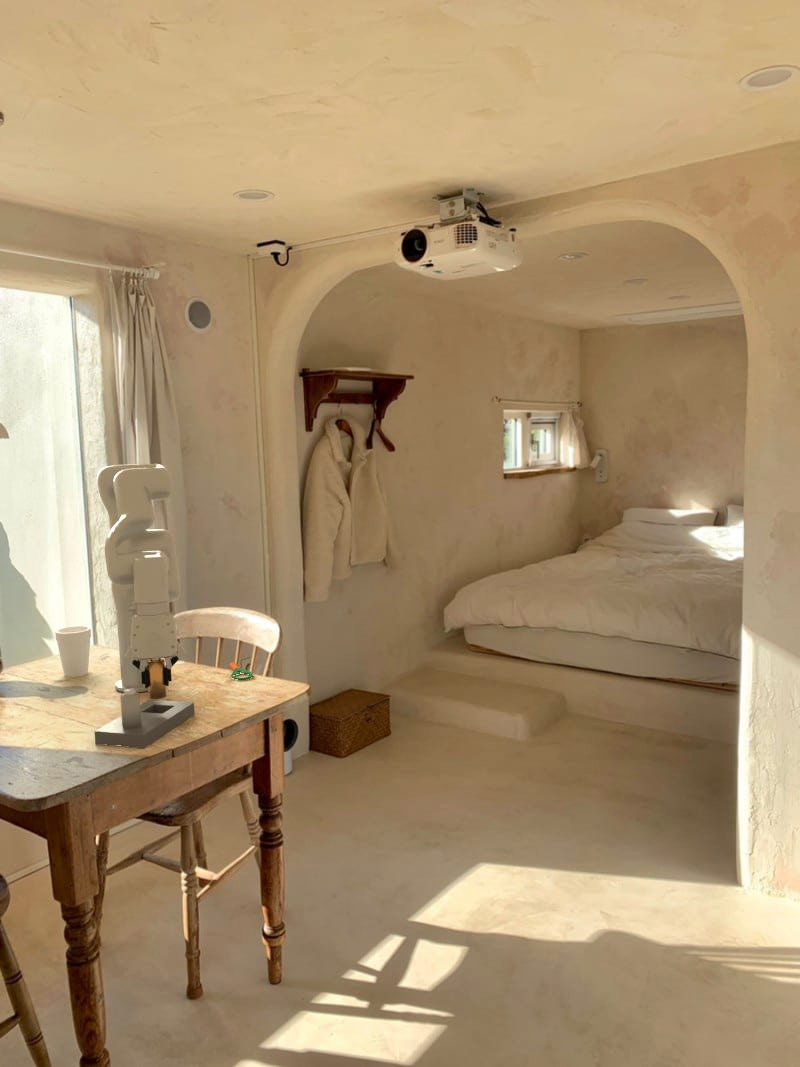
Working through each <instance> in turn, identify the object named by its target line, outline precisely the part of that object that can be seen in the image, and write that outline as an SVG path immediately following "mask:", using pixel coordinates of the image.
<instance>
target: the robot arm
mask: <svg viewBox="0 0 800 1067" xmlns="http://www.w3.org/2000/svg"><path fill="white" fill-rule="evenodd" d="M96 482H97V489H98V494H99V497H100V499H101V502H102V504H103V506H104V508H105V510H106V512H107V513H108V517H109V522H110V531H109V532H108V534H107V536H106V539H105V544H104V556H105V557H104V558H105V565H106V571H107V575H108V579H109V580H110V582H111V593H112V597H113V601H114V605H115V613H116V622H117V634H118V648H119V649H118V650H119V666H120V667H119V668H120V680H118V681H117V682H115V690H116V691H118V692H121V693H124V690H126V689H135V692H138V693H143V692H148V672H147V661H148V660H150V659H156V658H161V659H164V660H165V685H166V687H169V686H170V684H169V683H170V682H172V681H173V680H172V678H173V677H172V669H173V666H175V664H176V663H178V661H179V660H181V659H182V658H183V657H184V656H186V655H187V651H186V650H185V648H184V647H183V646H182V645H181V644H180V643H179V641H178V637H177V636H178V635H177V634H178V633H177V627H176V621H175V616H174V614H173V612H172V611H170V603H172V602H176V601H177V600H179V597H180V596H181V581H180V580H181V579H180V571H179V564H178V562H179V561H178V557H177V548H176V543H175V539H174V536H173V534H172V533H171V532H170V531H169V530H167V529H160V528H158V529H157V528H156V529H150V527H152V526H153V524H154V522H155V519H156V517H155V516H156V515H155V512H154V508H153V502H152V501H164V500H169V499H170V498H171V497H172V495H173V493H174V492H173V491H174V484H173V483H174V482H173V478H172V475H171V473H170V471H169V470H168V469H167V467H165V466H163V465H162V464H159V463H143V464H142V463H140V464H139V463H135V464H115V465H108V466H104V467H103V468H100V469H99V470H98V473H97V477H96Z"/></svg>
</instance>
